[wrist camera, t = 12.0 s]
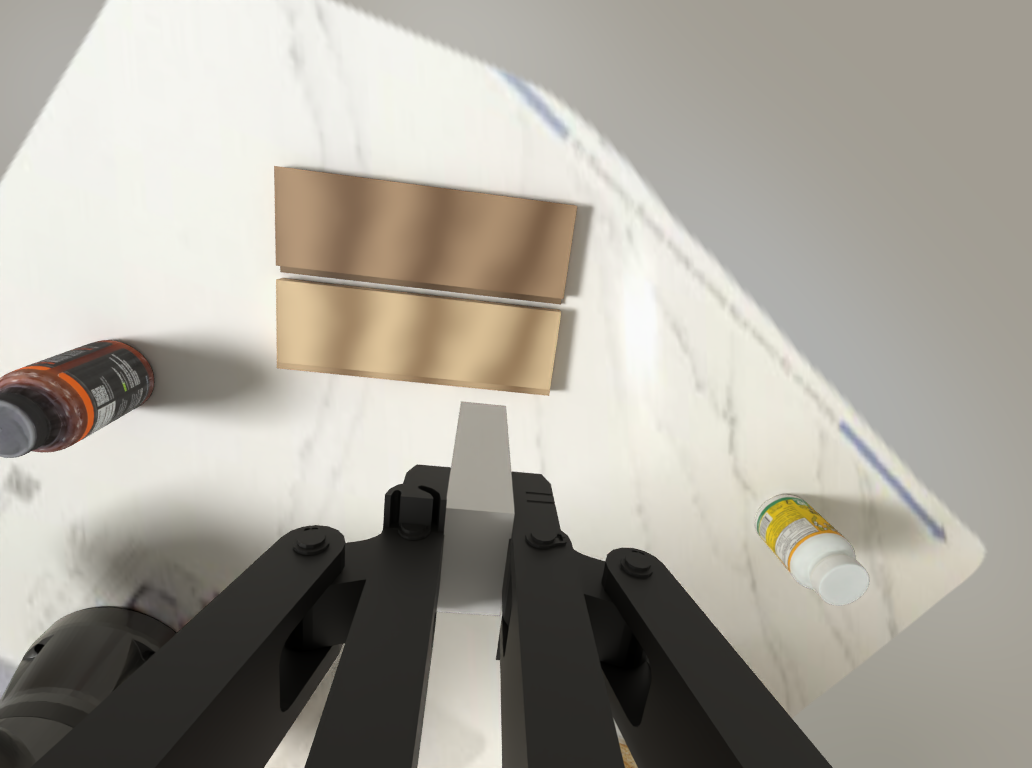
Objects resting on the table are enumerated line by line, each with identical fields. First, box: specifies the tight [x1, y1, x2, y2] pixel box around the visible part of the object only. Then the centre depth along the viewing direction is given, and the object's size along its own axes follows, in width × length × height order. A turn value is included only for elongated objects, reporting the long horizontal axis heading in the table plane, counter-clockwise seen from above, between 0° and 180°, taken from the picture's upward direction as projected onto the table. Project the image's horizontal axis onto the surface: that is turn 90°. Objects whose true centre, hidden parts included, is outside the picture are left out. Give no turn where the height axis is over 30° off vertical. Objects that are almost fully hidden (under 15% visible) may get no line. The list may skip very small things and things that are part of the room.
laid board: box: [274, 166, 577, 304], centre depth 40 cm, size 22×8×1 cm, turn 83°
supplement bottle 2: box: [755, 495, 869, 605], centre depth 46 cm, size 5×5×10 cm
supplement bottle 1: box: [0, 340, 154, 458], centre depth 38 cm, size 6×6×11 cm
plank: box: [276, 278, 561, 396], centre depth 43 cm, size 22×7×1 cm, turn 83°
